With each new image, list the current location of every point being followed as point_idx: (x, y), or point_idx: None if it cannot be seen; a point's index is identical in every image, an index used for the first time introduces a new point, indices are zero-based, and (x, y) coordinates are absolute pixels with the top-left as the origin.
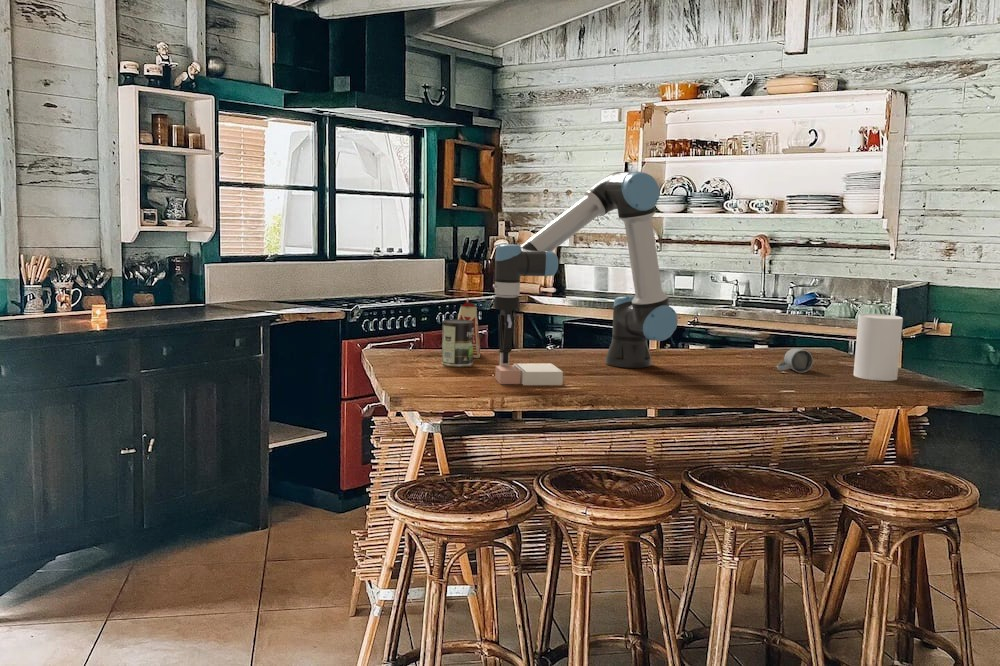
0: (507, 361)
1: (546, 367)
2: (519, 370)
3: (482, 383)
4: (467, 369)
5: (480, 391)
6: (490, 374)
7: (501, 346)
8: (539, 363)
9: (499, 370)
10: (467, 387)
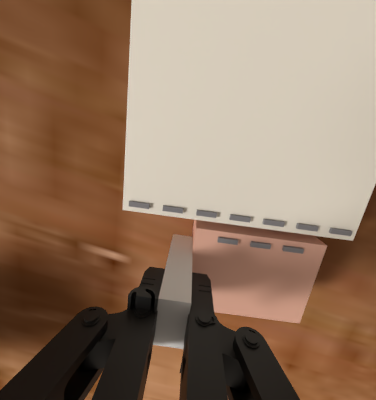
0: (209, 283)
1: (271, 59)
2: (319, 249)
3: (243, 324)
4: (5, 299)
5: (353, 361)
6: (96, 258)
7: (146, 375)
8: (130, 52)
9: (270, 316)
10: (287, 374)
